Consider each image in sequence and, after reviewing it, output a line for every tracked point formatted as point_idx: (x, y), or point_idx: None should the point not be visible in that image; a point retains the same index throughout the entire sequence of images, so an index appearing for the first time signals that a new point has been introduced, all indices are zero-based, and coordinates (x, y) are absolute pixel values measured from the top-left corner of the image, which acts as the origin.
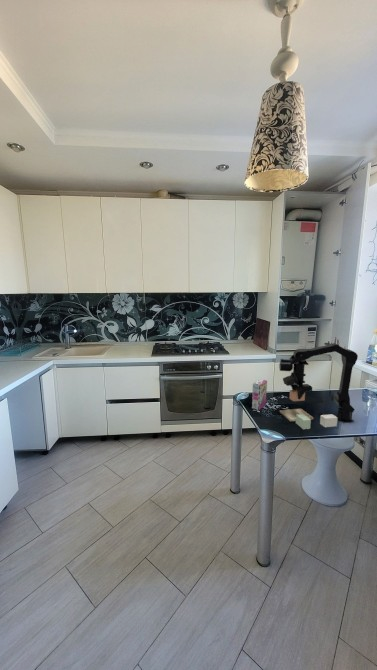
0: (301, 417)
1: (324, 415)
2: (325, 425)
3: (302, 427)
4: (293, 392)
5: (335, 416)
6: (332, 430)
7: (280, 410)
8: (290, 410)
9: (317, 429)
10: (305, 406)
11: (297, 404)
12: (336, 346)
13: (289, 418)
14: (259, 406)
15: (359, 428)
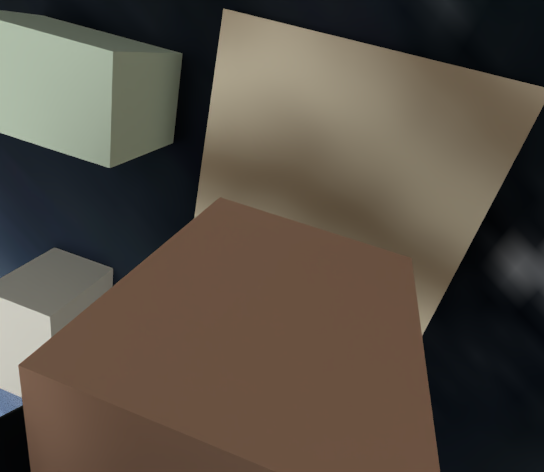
0: (16, 49)
1: (41, 340)
2: (41, 258)
3: (46, 18)
4: (68, 400)
5: (15, 392)
6: (7, 252)
7: (539, 98)
8: (439, 237)
9: (28, 157)
10: (440, 462)
11: (534, 452)
12: None
13: (258, 24)
14: None
15: (19, 406)
